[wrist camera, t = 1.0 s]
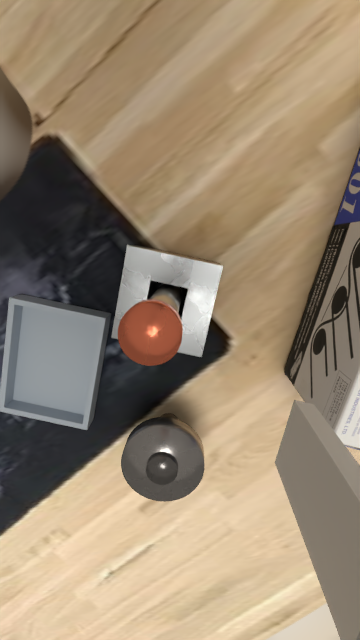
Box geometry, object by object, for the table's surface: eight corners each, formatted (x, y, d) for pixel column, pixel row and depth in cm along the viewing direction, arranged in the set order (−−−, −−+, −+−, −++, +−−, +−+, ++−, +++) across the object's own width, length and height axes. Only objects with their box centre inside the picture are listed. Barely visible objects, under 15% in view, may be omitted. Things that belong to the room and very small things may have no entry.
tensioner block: (136, 244, 36) (127, 245, 31) (219, 262, 36) (223, 266, 31) (122, 325, 38) (111, 337, 33) (200, 342, 38) (201, 357, 33)
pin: (154, 273, 37) (123, 296, 21) (191, 280, 37) (188, 310, 21) (148, 308, 38) (112, 358, 22) (183, 316, 38) (174, 371, 22)
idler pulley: (142, 385, 40) (127, 424, 31) (209, 399, 40) (213, 442, 31) (130, 444, 41) (112, 497, 33) (194, 458, 41) (194, 515, 33)
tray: (21, 293, 38) (9, 297, 35) (111, 313, 38) (105, 318, 35) (9, 400, 41) (-2, 410, 38) (93, 418, 41) (87, 430, 38)
